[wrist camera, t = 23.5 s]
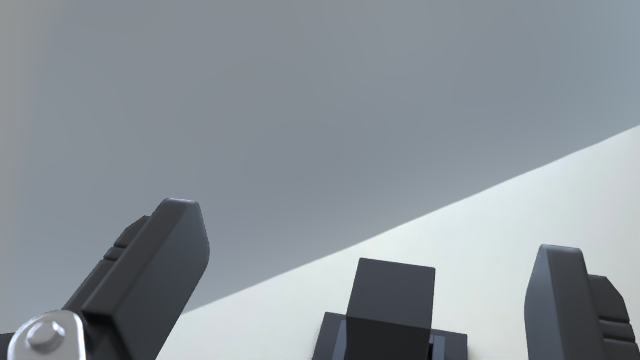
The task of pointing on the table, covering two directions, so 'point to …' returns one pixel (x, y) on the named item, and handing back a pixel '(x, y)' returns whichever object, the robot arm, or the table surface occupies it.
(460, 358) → the base pad
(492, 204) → the table surface
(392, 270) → the tall dark pillar
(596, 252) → the table surface
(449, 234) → the table surface
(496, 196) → the table surface
